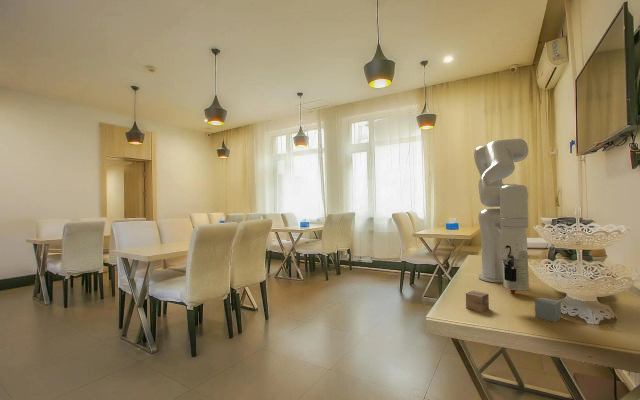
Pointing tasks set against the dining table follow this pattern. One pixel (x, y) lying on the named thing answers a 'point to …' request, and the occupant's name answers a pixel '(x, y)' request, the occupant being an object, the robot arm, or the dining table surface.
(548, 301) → the slate block
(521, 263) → the skincare box
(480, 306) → the walnut block
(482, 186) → the robot arm
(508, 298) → the dining table surface
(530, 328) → the dining table surface
